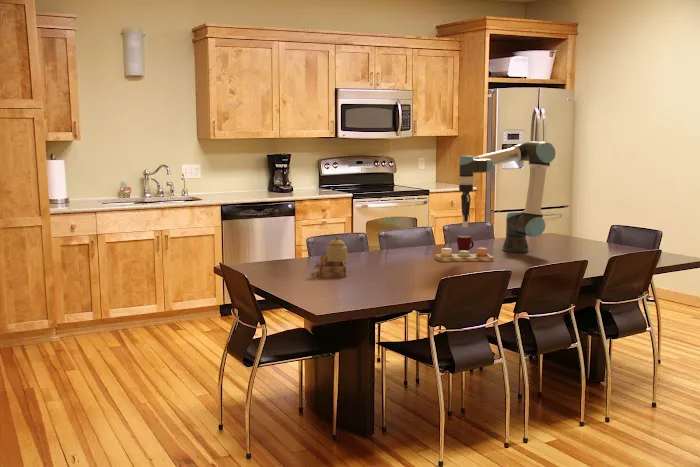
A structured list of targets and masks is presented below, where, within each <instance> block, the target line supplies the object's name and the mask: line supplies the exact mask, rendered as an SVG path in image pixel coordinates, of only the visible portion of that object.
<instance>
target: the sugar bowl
mask: <svg viewBox="0 0 700 467" xmlns="http://www.w3.org/2000/svg"><path fill="white" fill-rule="evenodd" d="M339 236H340V235H338V234H336V235H335V237H334V239H332V240H330V242H329V245H327V246H326V256H328V258H327V261H344V263H345V264H347V263H348V247H347V246H346V245H345V242H344V241H343V240H341V239H340V238H339Z"/></svg>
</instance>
